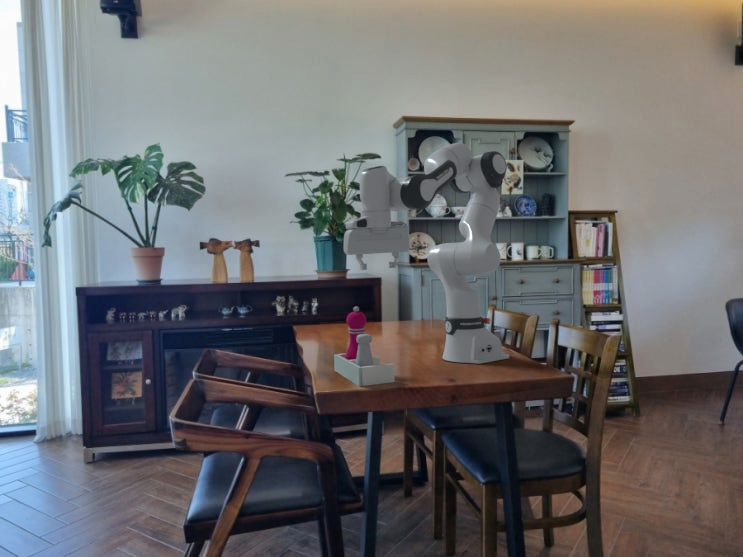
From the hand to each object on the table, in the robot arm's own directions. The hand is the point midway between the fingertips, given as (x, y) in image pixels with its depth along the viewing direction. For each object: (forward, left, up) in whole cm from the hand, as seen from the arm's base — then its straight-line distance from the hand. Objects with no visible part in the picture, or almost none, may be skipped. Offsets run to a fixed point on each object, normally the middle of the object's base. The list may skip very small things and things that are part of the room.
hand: (378, 268), depth 148 cm
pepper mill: (+6, -4, -31) cm, 32 cm away
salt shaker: (+7, +6, -31) cm, 33 cm away
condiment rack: (+6, +1, -31) cm, 32 cm away
